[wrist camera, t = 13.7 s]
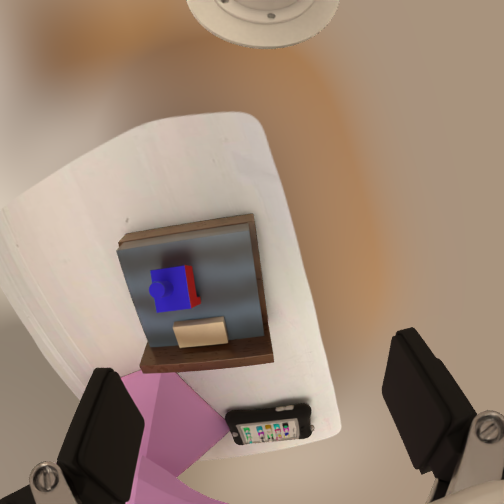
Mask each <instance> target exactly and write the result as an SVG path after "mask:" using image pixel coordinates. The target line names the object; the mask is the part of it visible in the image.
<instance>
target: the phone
mask: <svg viewBox="0 0 504 504" xmlns="http://www.w3.org/2000/svg"><path fill="white" fill-rule="evenodd" d="M310 415H311V407H310V406H309V405H308V404H305V403H301V404H295V405H289V406H284V407H277V408H270V409H261V410H232V411H229V412H228V413H227V414H226V416H225V421H226V423H227V425H228V427H229V429H230V431H231V433H232V436H233V439H234V441H235V443H236V444H238V445H245V444H250V443H261V442H273V441H283V440H292V439H305V438H308V437H309V436H310V435H311V434H312V431H314V426H313V425H310Z"/></svg>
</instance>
